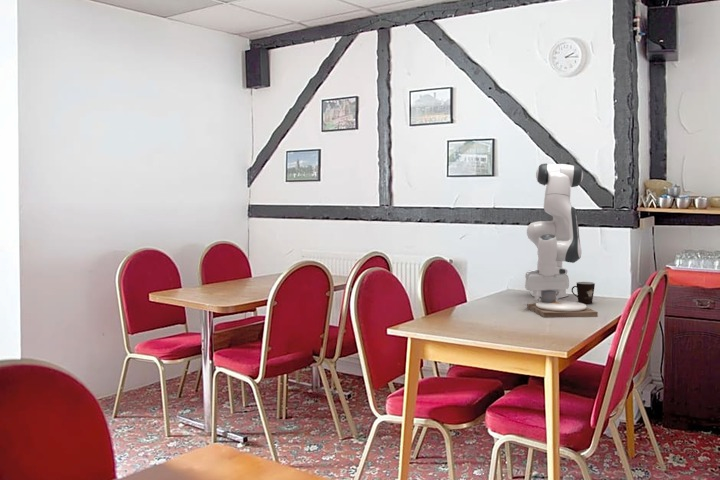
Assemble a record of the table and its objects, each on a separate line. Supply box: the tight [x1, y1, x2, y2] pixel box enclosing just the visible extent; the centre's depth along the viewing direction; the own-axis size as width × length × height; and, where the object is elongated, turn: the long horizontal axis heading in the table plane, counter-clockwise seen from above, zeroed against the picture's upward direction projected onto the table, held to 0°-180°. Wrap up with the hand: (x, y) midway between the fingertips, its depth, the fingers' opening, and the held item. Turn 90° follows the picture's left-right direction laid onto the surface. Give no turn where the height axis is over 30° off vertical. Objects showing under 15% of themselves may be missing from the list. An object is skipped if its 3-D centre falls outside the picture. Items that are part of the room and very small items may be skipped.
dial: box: [535, 290, 588, 311], centre depth 320 cm, size 23×22×6 cm
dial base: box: [526, 302, 599, 318], centre depth 320 cm, size 24×24×2 cm
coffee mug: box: [571, 281, 596, 305], centre depth 344 cm, size 12×9×10 cm
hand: (546, 299), depth 327 cm, fingers open, 8 cm apart
